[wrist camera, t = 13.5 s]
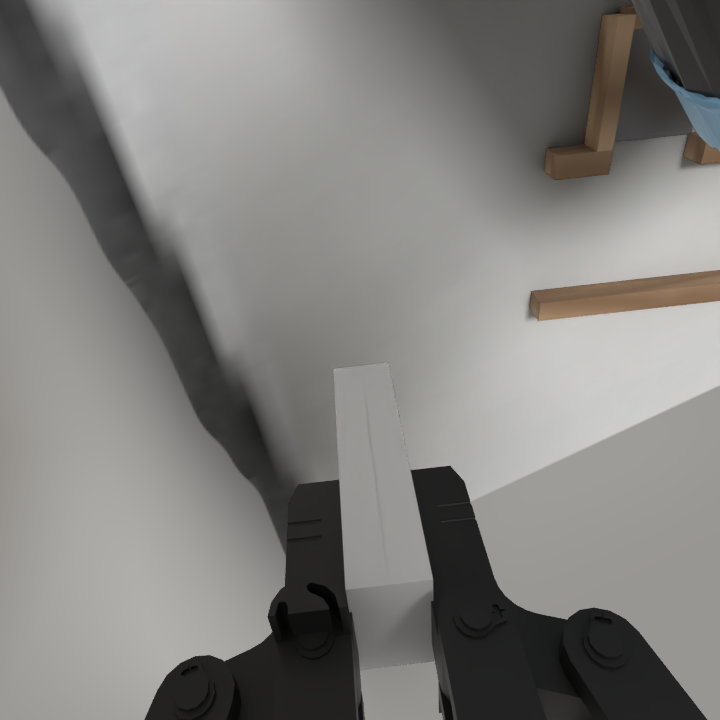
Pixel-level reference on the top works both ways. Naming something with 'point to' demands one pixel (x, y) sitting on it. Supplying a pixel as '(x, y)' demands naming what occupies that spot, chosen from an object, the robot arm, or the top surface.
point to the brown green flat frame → (604, 127)
